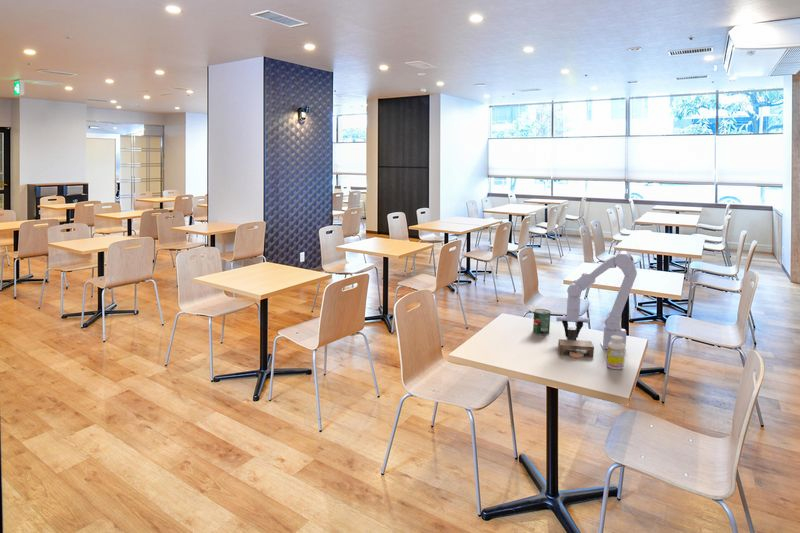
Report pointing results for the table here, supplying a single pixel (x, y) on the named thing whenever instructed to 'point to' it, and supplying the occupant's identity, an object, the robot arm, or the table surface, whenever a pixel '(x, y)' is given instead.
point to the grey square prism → (572, 336)
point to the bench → (575, 346)
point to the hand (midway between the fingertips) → (571, 336)
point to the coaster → (576, 354)
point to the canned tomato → (541, 321)
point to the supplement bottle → (616, 353)
